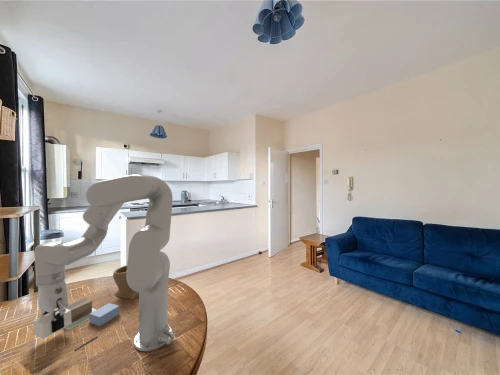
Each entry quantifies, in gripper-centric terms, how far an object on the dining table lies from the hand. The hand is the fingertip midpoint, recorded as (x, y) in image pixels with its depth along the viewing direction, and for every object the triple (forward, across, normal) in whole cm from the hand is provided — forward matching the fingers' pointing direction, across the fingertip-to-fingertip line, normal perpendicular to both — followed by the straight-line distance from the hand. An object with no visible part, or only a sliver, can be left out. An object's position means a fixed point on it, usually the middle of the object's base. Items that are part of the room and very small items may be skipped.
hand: (53, 326), depth 73 cm
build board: (+5, +7, -10) cm, 14 cm away
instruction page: (+6, -8, -4) cm, 11 cm away
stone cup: (+6, +4, -31) cm, 32 cm away
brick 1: (+1, 0, 0) cm, 1 cm away
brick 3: (+6, -5, -14) cm, 16 cm away
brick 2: (+4, +7, -10) cm, 13 cm away
